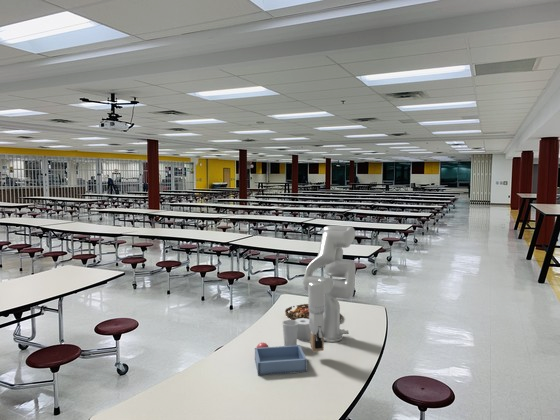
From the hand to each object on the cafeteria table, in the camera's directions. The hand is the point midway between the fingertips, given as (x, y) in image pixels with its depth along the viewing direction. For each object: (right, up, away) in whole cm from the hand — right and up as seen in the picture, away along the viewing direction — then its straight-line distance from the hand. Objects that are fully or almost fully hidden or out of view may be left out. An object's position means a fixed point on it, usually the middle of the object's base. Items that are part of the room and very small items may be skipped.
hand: (317, 344), depth 182 cm
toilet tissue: (-4, -5, +25) cm, 26 cm away
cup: (-12, -6, +14) cm, 20 cm away
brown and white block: (0, -2, 0) cm, 2 cm away
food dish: (+3, -3, +57) cm, 58 cm away
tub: (-17, -7, -7) cm, 20 cm away
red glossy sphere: (-26, -6, +4) cm, 27 cm away
